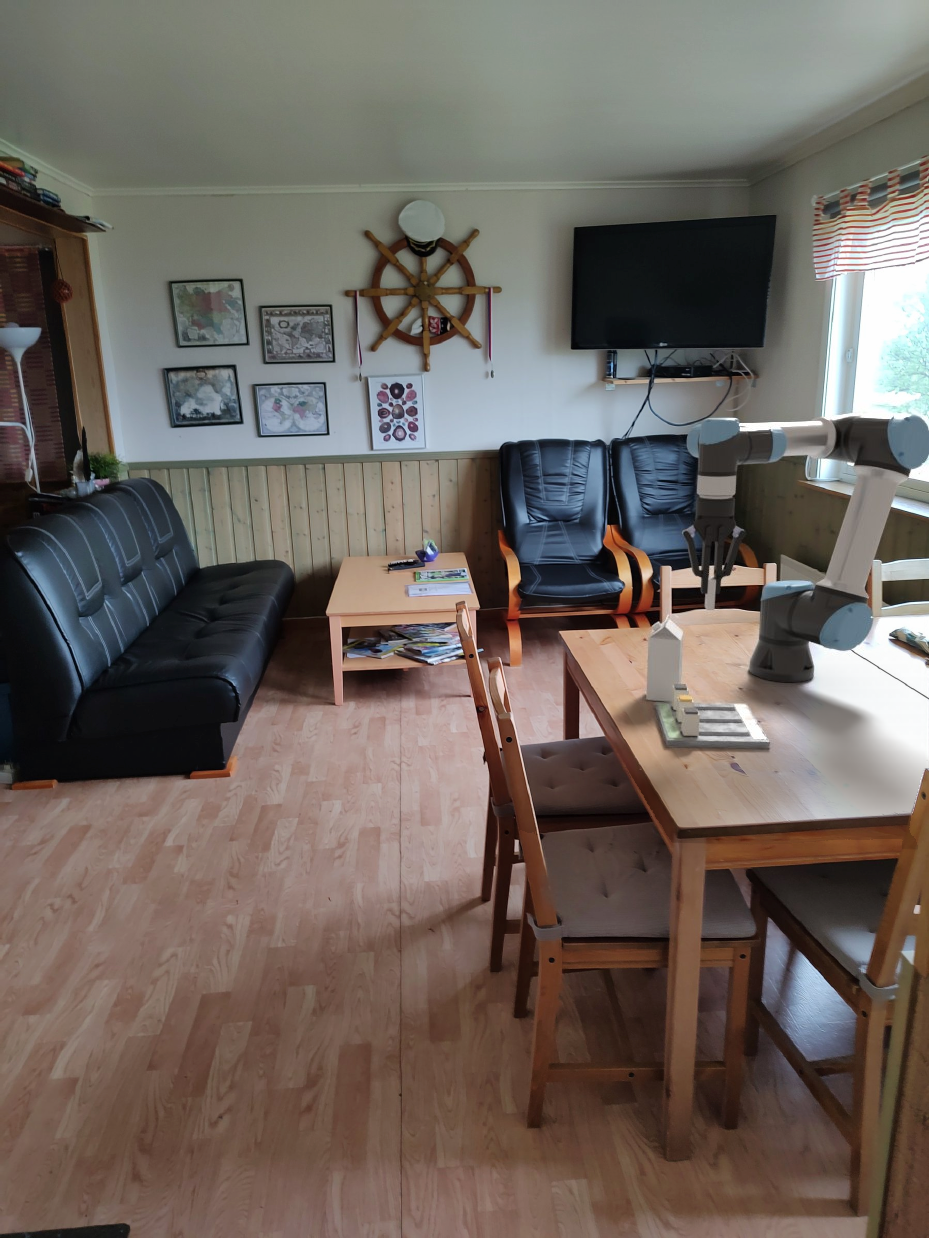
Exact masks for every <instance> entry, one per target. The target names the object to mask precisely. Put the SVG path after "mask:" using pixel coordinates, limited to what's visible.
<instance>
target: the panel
mask: <svg viewBox="0 0 929 1238" xmlns="http://www.w3.org/2000/svg"><path fill="white" fill-rule="evenodd" d="M694 708H697V710H698V712H699V714H700V720H699V736H683V733H682V730H681V724H682V722H678V720H677V718H676V710H674V709H673V707H672V702H664V701H654V712H655V715H656V717H657V721H658V725H659V727H660V730H661V734H662V736H663V739H664V743H665V746H666V748H694V749H695V748H699V749H700V748H703V749H705V748H706V749H710V748H711V749H748V750H749V749H752V750H753V749H756V750H759V749H761V750H765V749H766V750H770V748H771V747H770V745H771V741H770V740H769V738H768V736H767V735H766V733H765V731H764V729H763V727H762V726H761V725H760V723H759V721H758V720H757V718H756V717H755V715H754V714H753V712H752V710H751V709H750V706H748V703H747V702H746V703H745V702H741V703H739V702H734V703H733V702H730V703H729V702H694Z"/></svg>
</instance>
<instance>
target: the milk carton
mask: <svg viewBox="0 0 929 1238" xmlns="http://www.w3.org/2000/svg"><path fill="white" fill-rule="evenodd" d="M651 629H652V630H651V633H650V634H649V637H648V644H647V645H648V646H647V668H646V669H647V672H646V696H645V697H646V701H652V702H653V701H654V702H672V688H673V686H674V684H682V672H683V669H682V668H683V650H684V631H683V630H682V629H681V628H680V627H679V626H678V625H676V623H674V621H672V620H671V619H670V614H669V613H668V614H667V615H666V618H665V620H664V621H662V622H660V621H657V622H655V623H654V624H653V625H651Z"/></svg>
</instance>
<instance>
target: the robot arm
mask: <svg viewBox="0 0 929 1238" xmlns="http://www.w3.org/2000/svg"><path fill="white" fill-rule="evenodd" d="M686 448H687V451H688V453H689V454H690V455H691V456H693V457H695V458H697V459H698V460H697V461H698V464H697V467H698V468H697V482H696V484H697V486H696V494H697V495H698V497H696V500H695V501H696V502H695V518H694V519H693V522H692V525H691V526H689V527H688V528H687V529H686V528H683V529H682V530H681V534H682V536H683V537H684V539H685V542H686V546H687V547H686V548H687V551H688V556H689V561H690V566H691V570H692V573H693V575H694V576H695V577H699V578H700V592H701V594H702V595H705V597H704V608H705V610H706V611H715V605H716V603H715V602H716V594H717V595H719V594H720V593H721V586H722V580H723V578H725V577H729V576H731V575H732V572H733V568H734V565H735V562H736V559H737V555H738V553H739V549H740V547H741V543H742V541H743V540H744V538H745V537H746V535H747V531H746V530H744V529H743V528H740V527H739V526H737V523H736V520H735V505H736V503H735V501H736V499H735V497H733V496H734V495H735V494H736V490H737V489H736V487H737V486H736V485H737V474H738V473H737V471H738V466H740V465H753V464H764V465H766V464H768V463H769V464H770V463H774V462H778V461H779V460H780V459H782V457H791V456H792V457H793V456H794V457H795V456H809V457H811V459H815V460H823V459H824V460H833V461H840V462H846V463H850V464H853V467H852V469H853V470H854V473H855V474H856V477H857V478H856V481H855V484H854V487H853V490H852V493H851V497H850V499H849V502H848V505H847V509H846V511H845V514H844V518H843V522H842V523H841V527H840V529H839V533H838V536H837V540H836V543H835V546H834V549H833V552H832V555H831V559H830V561H829V564H828V568H827V571H826V574H825V577H824V578H823V579H821V580H819V581H817V582H816V583H815V584H814V583H813V582H812V581H807V580H779V581H778V580H777V581H773V582H772V581H771V582H767V583H766V584H765V585H764V586H763V588H762V591H761V593H762V594H761V598H760V612H759V628H758V629H759V631H758V640H757V643H756V646H755V649H754V651H753V653H752V655H751V656H750V659H749V668H748V670H749V673H750V674H752V675H753V676H755V677H758V678H760V679H763V680H767V681H772V682H781V683H798V682H806V681H809V680H811V679H813V677H814V674H815V664H814V661H813V657H812V656H813V655H812V653H811V648H810V643H813V644H816V645H819V646H822V647H823V648H826V649H829V650H835V651H840V652H847V651H851V650H853V649H855V648H856V647H857V646H860V645H861V644H862V643H863V642H864V641H865V640H866V639H867V638H868V635H869V634H870V632H871V630H872V627H873V622H874V616H873V611H872V608H871V607H870V606H869V605H868V601H869V598H870V596H869V594H868V593H867V591H866V588H865V587H866V584H867V581H868V578H869V575H870V572H871V569H872V566H873V564H874V560H875V557H876V554H877V552H878V547H879V544H880V541H881V538H882V535H883V532H884V529H885V527H886V523H887V521H888V520H887V519H888V517H889V514H890V511H891V508H892V505H893V502H894V499H895V495H896V493H897V489H898V488H899V485H900V484H903V483H904V482H906V481H908V480H909V477H910V475H911V472H912V470H915V469H917V468H920V467H922V466H923V464H924V463H926V461H927V460H928V458H929V426H928V424H927V422H926V421H925V420H924V419H923V418H922V417H920V416H919V415H916V414H913V413H912V414H911V413H904V412H866V411H865V412H864V411H863V412H851V413H844V414H839V415H837V414H836V415H829V416H818V417H814V418H811V420H810V421H790V422H788V421H786V422H783V421H781V422H753V423H752V422H751V423H750V422H747V423H746V422H745V423H740V419H738V418H736V417H711V418H710V417H709V418H708V417H707V418H705V419H703V420H702V421H701V423H699V424H695V425H694V426H693V427H691V429H690V430H689V432H688V434H687V437H686ZM695 532H696V533H697V535H698V536H699V537H700V539H701V540H702V542H701V543H702V550H701V553H702V554H701V568H700V565H699V560H698V555H697V551H696V544H695V540H694V537H695V536H696V534H695ZM731 533H732V536H733V537H732V540H731V543H730V546H729V548H728V552H727V555H726V558H725V561H724V560H723V559H724V547H725V541H726V540H727V539H728V537H729V535H731ZM712 542H714V562H713V576H710V563H711V547H712ZM723 562H724V565H723Z"/></svg>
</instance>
